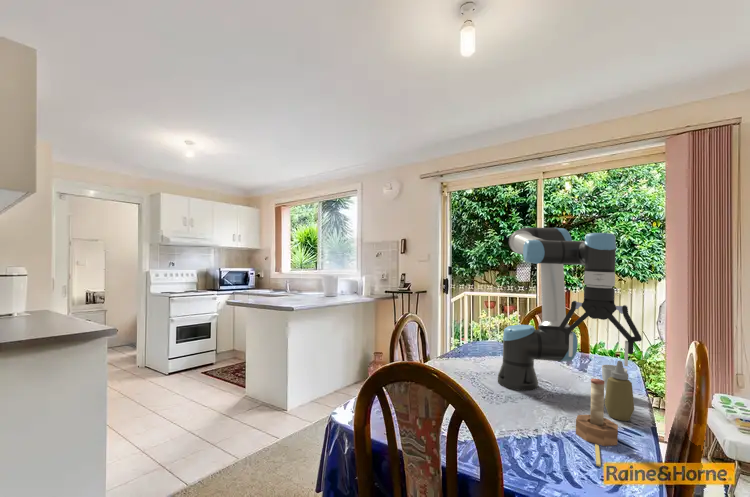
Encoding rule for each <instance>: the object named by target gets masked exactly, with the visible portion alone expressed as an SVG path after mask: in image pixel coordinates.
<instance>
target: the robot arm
mask: <svg viewBox="0 0 750 497" xmlns="http://www.w3.org/2000/svg"><path fill="white" fill-rule="evenodd" d="M584 238H585V239H584V240H572V236H571V234H570V231H569V230H567V229H566V228H561V227H523V228H518V229H517V230H515V231H514V232H513V233H511V234H510V236H509V238H508V245H509V248H510V249H511V251H512V252H514V253H515V254H518V255H522V257H523V260H524V262H525V263H527V264H536V265H537V264H540V283H541V284H540V286H541V288H540V289H541V315H542V316H541V317H542V320H541V322H540V323H539V324H538V329H536V328H535V326H534V325H530V324H514V325H513V324H512V325H508V326H507V327H506V326H505V328H504V329H503V336H502V364H501V366H500V370H499V372H498V374H497V383H498V384H499V385H501V386H503V387H504V388H508V389H512V390H515V391H522V392H523V391H525V392H528V391H529V392H530V391H531V392H532V391H536V390H538V389H539V379H538V376H537V374H536V370H535V367H534V366H535V360H537V361H538V360H539V361H549V362H551V361H552V362H560V363H561V362H565V363H566V362H572V361H573V360H574V358H575V357H576V354H577V351H578V342H579V341H578V338H577V337H578V336H577V333H575V332H574V331H573V330H575V329H576V328H577V327H578V326H579V325H581V324H582V323H583V322H584V321H585V320H586V319H588V317H589V318H591V319H594V320H595V319H596V320H598V319H599V320H603V321H606V320H609V321H610V322H611V323H612V324H613V325H614V327H615V328H616V329H617V330H618V331H619V332H620V334H622V336H623V337H624V338H625V339H626V340H624V364H623V367H628V366H629V364H628V363H629V355H633V354H634V343H636V342H641V341H642V340H643V338H642V335H641V333H640V332H639V330H638V328H637V327H636V325H635V323H634V321H633V319H632V318H631V316H630V313H629V308H628V306H627V305H626V304H624V305H616V304H615V299H616V298H615V295H616V294H615V293H616V292H615V288H614V286H616V253H617V252H616V251H617V245H616V236H615V234H613V233H610V232H591V233H586V235H585V237H584ZM564 265H575V266H577V265H579V266H584V276H583V277H584V279H583V280H584V281H583V282H584V285H586V286H584V287H583V289H584V290H583V301H582V302H579V301H576V300H573V301H572V302H571V304H570V309H569V311H568V312H566V311H567V310H566V292H565V269H564ZM580 307H581V308H582V309H583V310H584V313H583V314H582V315H581V316H579V318H577V320H575V321H574V322H573V323H572V324H568V323H569V322H570V321H571V320H570V319H571V318H572V317H573V315H574V313H575V312H576V310H579V308H580ZM616 311H618V312H619V314H622V316H623V318H624V320H625V321H626V323H627V325H628V326H629V328H630V330H631V332H632V334H633V336H632V335H631V334H630V333H629V332H628V331H627V330H626V328H625V327H624V326H623V325H622V324H621V323H620V321H618V320H617V318H616V317H615V316H614V313H616Z"/></svg>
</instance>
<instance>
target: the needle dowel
mask: <svg viewBox="0 0 750 497" xmlns="http://www.w3.org/2000/svg"><path fill="white" fill-rule="evenodd" d="M604 402H605V388H604V381H603V379H601V378H591V379H590V414H589V415H590V423H591V424H593V425H597V426H603V423H604V418H605V416H604V412H605V411H604V410H605V403H604Z"/></svg>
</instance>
